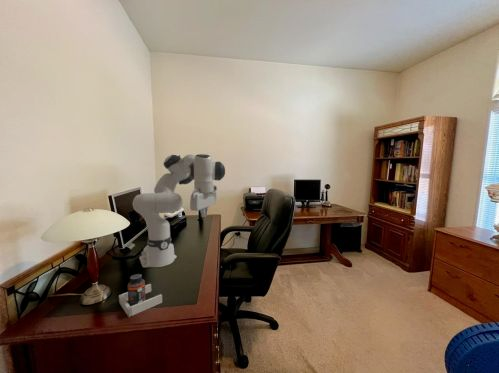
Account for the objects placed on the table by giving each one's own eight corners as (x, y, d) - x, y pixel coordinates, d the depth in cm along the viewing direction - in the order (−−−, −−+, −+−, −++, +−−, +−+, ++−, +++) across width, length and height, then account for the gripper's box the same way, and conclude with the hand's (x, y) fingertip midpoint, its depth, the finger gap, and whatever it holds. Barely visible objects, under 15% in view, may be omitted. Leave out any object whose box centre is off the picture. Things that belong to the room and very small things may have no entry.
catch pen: (119, 302, 86) (118, 295, 86) (150, 290, 94) (150, 283, 94) (128, 317, 78) (128, 309, 77) (162, 302, 86) (161, 295, 86)
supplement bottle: (145, 306, 83) (144, 278, 82) (127, 311, 81) (126, 281, 80) (146, 298, 89) (144, 271, 88) (129, 301, 86) (127, 274, 85)
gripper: (198, 190, 94) (199, 222, 95) (218, 186, 114) (218, 212, 115) (186, 190, 96) (186, 221, 97) (207, 186, 116) (207, 212, 117)
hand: (204, 216), depth 106 cm, fingers closed
